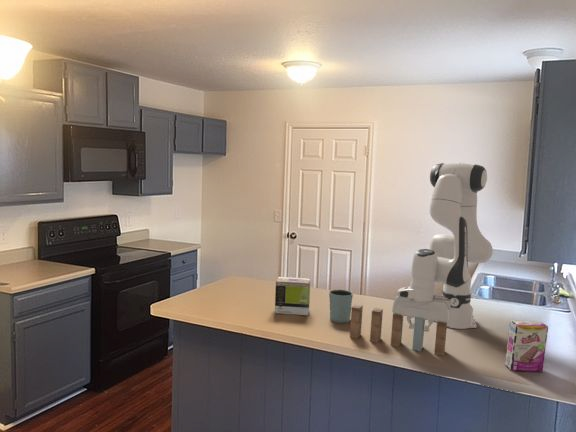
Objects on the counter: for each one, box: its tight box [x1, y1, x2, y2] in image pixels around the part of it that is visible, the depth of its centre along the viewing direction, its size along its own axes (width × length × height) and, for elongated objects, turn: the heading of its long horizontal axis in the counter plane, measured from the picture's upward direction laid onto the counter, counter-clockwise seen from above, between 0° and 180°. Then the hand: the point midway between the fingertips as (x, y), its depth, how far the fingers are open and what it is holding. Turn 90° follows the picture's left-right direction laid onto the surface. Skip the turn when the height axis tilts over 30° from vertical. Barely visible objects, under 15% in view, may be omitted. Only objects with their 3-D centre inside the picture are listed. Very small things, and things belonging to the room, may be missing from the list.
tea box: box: [274, 276, 311, 316], centre depth 219 cm, size 15×10×15 cm, turn 84°
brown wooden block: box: [434, 321, 448, 356], centre depth 179 cm, size 5×3×12 cm, turn 156°
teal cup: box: [328, 289, 354, 324], centre depth 211 cm, size 10×10×12 cm
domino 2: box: [369, 307, 384, 344], centre depth 189 cm, size 5×3×12 cm, turn 156°
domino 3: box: [390, 313, 404, 348], centre depth 185 cm, size 5×3×12 cm, turn 156°
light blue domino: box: [411, 318, 426, 352], centre depth 182 cm, size 5×3×12 cm, turn 156°
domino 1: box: [349, 303, 364, 339], centre depth 192 cm, size 5×3×12 cm, turn 156°
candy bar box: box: [504, 320, 549, 373], centre depth 167 cm, size 11×5×16 cm, turn 92°
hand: (418, 329), depth 182 cm, fingers open, 4 cm apart
